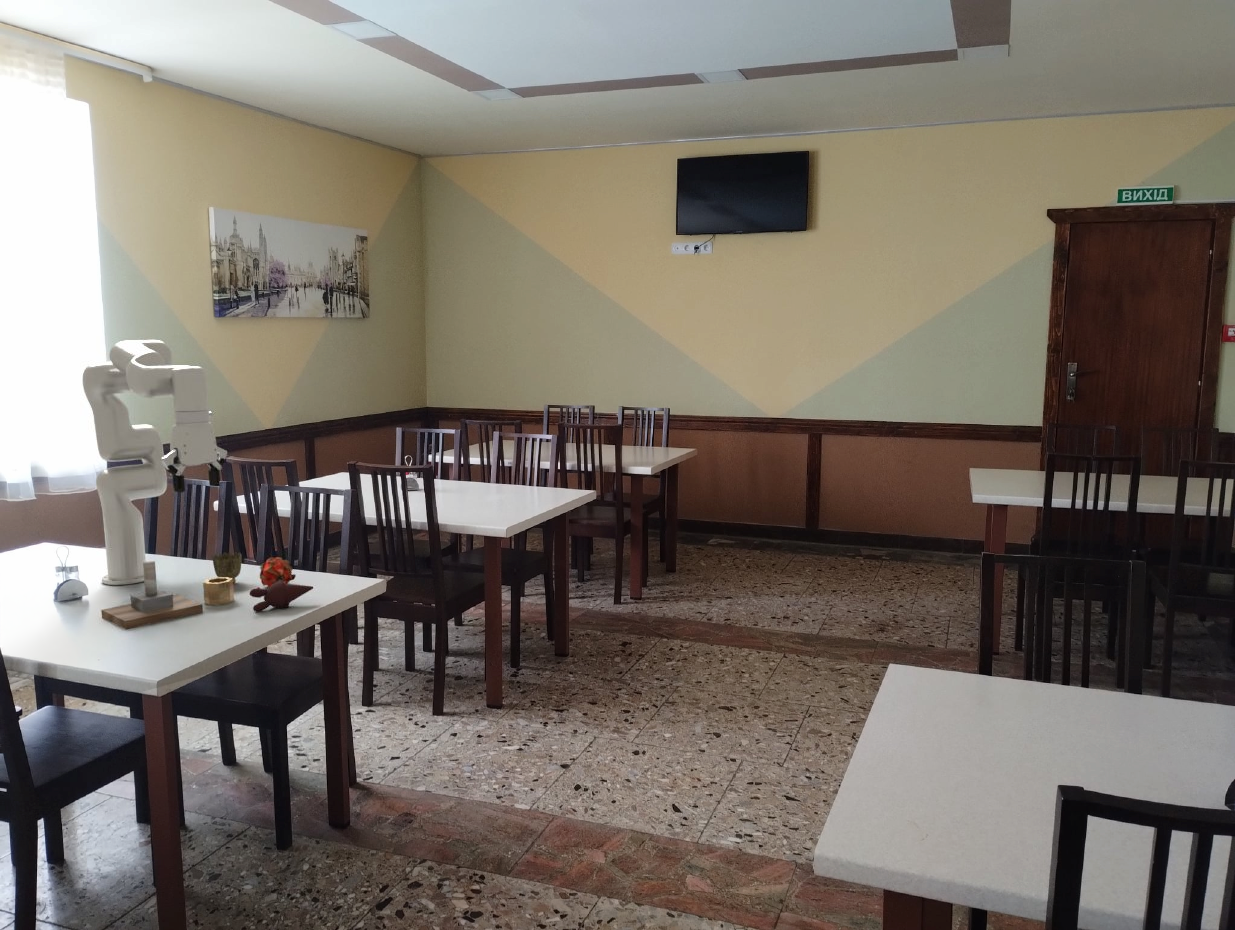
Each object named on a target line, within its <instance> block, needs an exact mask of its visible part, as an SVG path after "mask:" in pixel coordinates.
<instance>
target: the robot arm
mask: <svg viewBox="0 0 1235 930" xmlns="http://www.w3.org/2000/svg"><path fill="white" fill-rule="evenodd" d="M108 355H109V361H106V362H96V363H93V364H90V365H88V366H86V368H85V369H84V370H83V373H82V386H83V391H84V395H85V396H86V397H85V398H86V399H87V401H88V403H89V406H90V408H91V410H92V415H93V422H94V429H95V430H94V431H95V436H96V437H95V438H96V444H97V451H98V453H99V456H100V457H101V459H102V460H104V461H105V462H106V461H107V462H126V461H135V460H136V461H137V460H141V462H142V464H141V463H139V464H129V465H120V466H119V465H118V466H111V467H108V468H105V469H103V470H102V471H100V472H99V473H97V476H96V480H95V486H96V489H97V493H98V497H99V500H100V505H101V511H102V521H103V531H104V541H105V555H106V567H107V568H106V569H107V575H104V576H103V577H102V578H101V583H103V584H104V585H109V586H110V585H111V586H119V585H121V586H122V585H133V584H137V583H139V584H140V583H144V571H143V562H147V561H146V548H145V535H144V522H143V515H142V512H141V511H140V510H139V509H138V508H137V506H136V505H134V504H133V502H132V501H135V500H141V499H147V498H149V499H150V498H156V497H160V496H162V495H163V494H165V492H166V490H167V488H168V477H167V472H168V473H169V474H170V476H172V485H173V486H172V487H173V491H174V492H175V493H176V492H177V493H184V492H185V491H186V484H185V475H182V474H183V472H184V470H185V469H186V467H187V468H188V467H194V466H202V465H203V466H204V465H207V466H208V467H209V468H210V469H208V481H209V486H211V487H220V486H221V472H220V470H222V469H223V468H222V466H223V465H224V464H225V462H226V457H227V455H228V451H227V450H225V449H224V448H221V447H219V446H218V445H217V439H216V435H215V430H214V427H213V426H214V425H213V424H212V422H210V418H213V413H212V412H211V411H210V410H209V395H208V381H207V380H208V379H207V372H206V369H204V367H201V366H191V365H172V363H173V354H172V351H171V348H170V346H168V344H167V343H165V342H163V340H157V339H147V340H146V339H145V340H144V339H143V340H142V339H137V340H136V339H135V340H130V339H129V340H122V341H119V342H117V343H115V344H114V345H113V346H112V347H111V348H110V350H109V354H108ZM133 393H134V394H136V395H138V396H140V397H143V398H149V399H152V398H153V399H154V398H173V409H174V423H175V424H173V425H172V426H171V431H170V438H169V439H170V440H169V441H170V443H169V445H170V446H169V450H170V451H169V452H168V453H167V454H165V453H164V446H163V441H162V440H163V439H162V436H161V434H160V432H159V431H158V429H157V428H156V427H155V426H153V425H151V424H134V425H132V424H131V421H130V414H129V413H130V412H129V409H128V407H127V405H126V404H125V402H124V401H123V400H122V399H121V398H120V397H118V396H117V395H116V394H133Z"/></svg>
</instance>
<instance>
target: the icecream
mask: <svg viewBox="0 0 1235 930" xmlns="http://www.w3.org/2000/svg"><path fill="white" fill-rule="evenodd" d="M312 590H314V586H311V585H303V584H293V583H288V584H285V583H284V582H283V581H282V580H281V581H280V582H276V583H274V584H272V585H271V586H270V587H268V588H267V589H266V588H261V587H257V588H253V589H251V590H250V591H249V595H250V596H251V597H252V598H259V599H261V598H262V597H263V600H264V601H259V602H258V603H256V604H254V605H253V607H252V609H253V612H256V613H257V612H262V611H265V610H267V609H268V608H269V607H273V608H277V609H278V608H279V609H282V608H283V609H285V608H289V606H290V603H292V602H293V601H295V600H297V599H298V598H300V597H302V596H303V595H305V594H306V593H309V592H310V591H312Z"/></svg>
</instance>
